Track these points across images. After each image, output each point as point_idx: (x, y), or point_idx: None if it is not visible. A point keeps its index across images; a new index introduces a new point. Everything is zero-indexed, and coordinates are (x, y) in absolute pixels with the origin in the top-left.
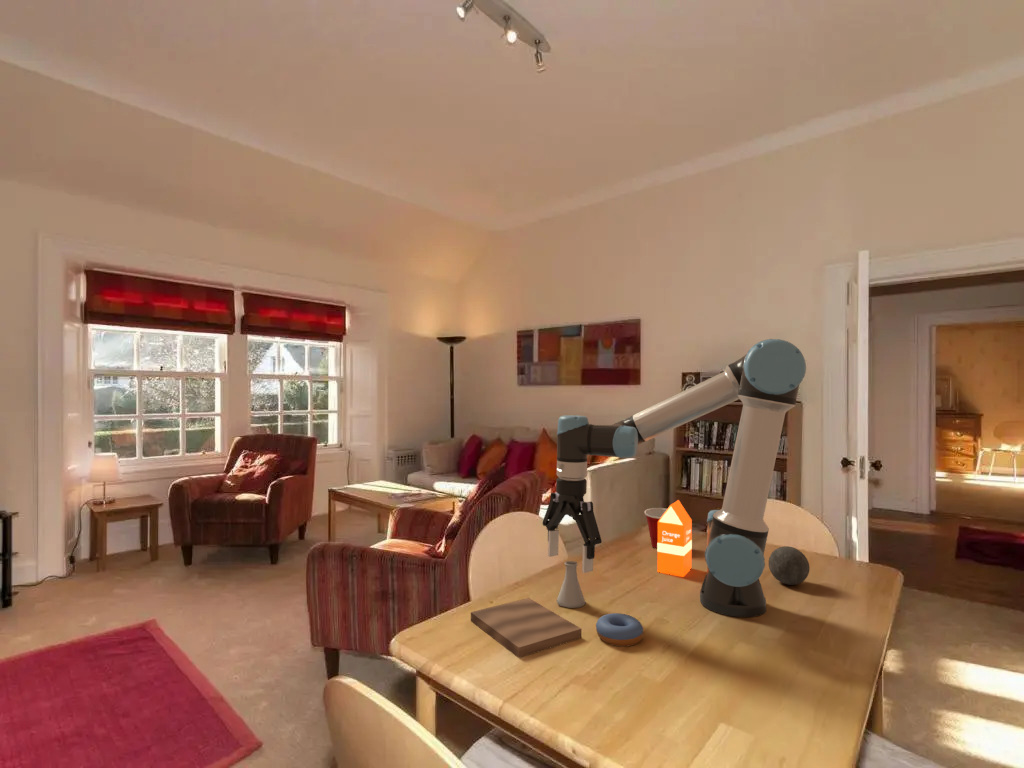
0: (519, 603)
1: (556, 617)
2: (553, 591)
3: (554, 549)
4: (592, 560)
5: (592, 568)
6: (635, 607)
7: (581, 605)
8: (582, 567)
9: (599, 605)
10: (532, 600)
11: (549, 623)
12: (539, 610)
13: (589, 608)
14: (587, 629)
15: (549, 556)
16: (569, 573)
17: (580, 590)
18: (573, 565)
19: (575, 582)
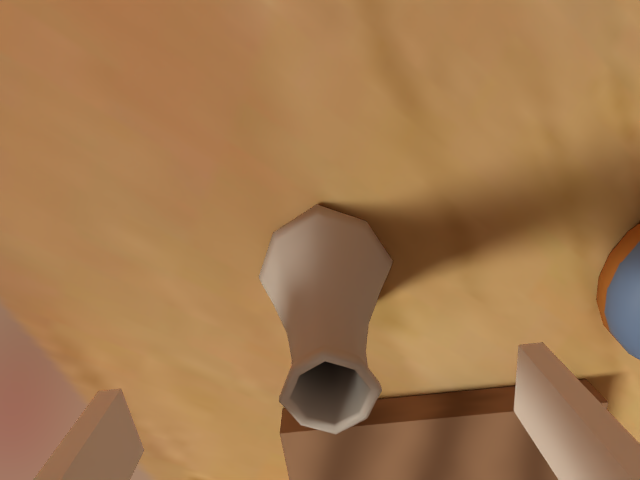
0: (315, 474)
1: (484, 427)
2: (176, 268)
3: (106, 462)
4: (598, 408)
5: (554, 359)
6: (523, 11)
7: (389, 259)
8: (533, 437)
9: (406, 170)
10: (309, 432)
11: (509, 462)
12: (403, 447)
13: (409, 228)
14: (551, 333)
15: (140, 452)
16: (349, 374)
17: (363, 267)
18: (376, 399)
19: (369, 320)
